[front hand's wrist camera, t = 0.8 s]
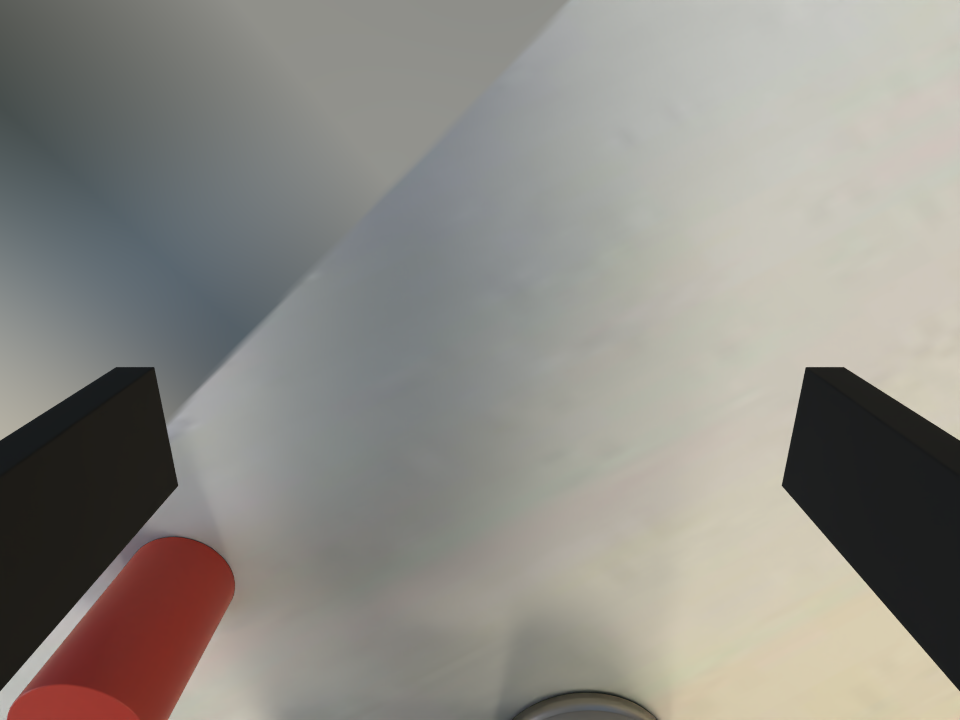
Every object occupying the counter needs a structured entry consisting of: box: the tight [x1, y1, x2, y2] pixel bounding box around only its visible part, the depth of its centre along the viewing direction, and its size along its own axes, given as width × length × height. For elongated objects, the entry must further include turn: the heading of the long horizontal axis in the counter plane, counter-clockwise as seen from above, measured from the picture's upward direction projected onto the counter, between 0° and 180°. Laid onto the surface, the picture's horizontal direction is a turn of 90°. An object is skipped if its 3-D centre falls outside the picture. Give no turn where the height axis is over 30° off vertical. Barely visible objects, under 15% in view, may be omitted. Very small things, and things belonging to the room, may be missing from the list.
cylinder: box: [7, 537, 235, 720], centre depth 40 cm, size 8×8×13 cm
